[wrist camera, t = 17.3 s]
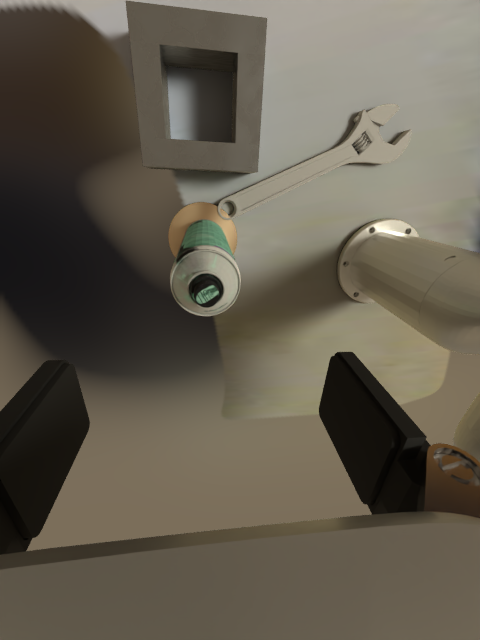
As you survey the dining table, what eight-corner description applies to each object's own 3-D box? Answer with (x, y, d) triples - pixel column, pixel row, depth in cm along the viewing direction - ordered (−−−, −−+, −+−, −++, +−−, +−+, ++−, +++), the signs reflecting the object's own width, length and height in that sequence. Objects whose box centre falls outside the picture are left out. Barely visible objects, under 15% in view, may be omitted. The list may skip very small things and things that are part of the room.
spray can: (176, 247, 36) (150, 310, 18) (196, 210, 34) (188, 239, 17) (212, 268, 38) (220, 343, 20) (233, 233, 36) (261, 282, 18)
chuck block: (257, 43, 29) (267, 18, 24) (250, 173, 34) (257, 172, 29) (138, 30, 27) (125, 0, 23) (151, 168, 32) (142, 166, 28)
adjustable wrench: (221, 222, 37) (222, 224, 35) (203, 171, 34) (203, 170, 32) (402, 155, 35) (411, 154, 34) (399, 96, 33) (409, 91, 31)
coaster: (237, 203, 35) (238, 203, 35) (235, 271, 39) (235, 272, 39) (166, 200, 34) (165, 201, 33) (171, 270, 38) (170, 272, 37)
